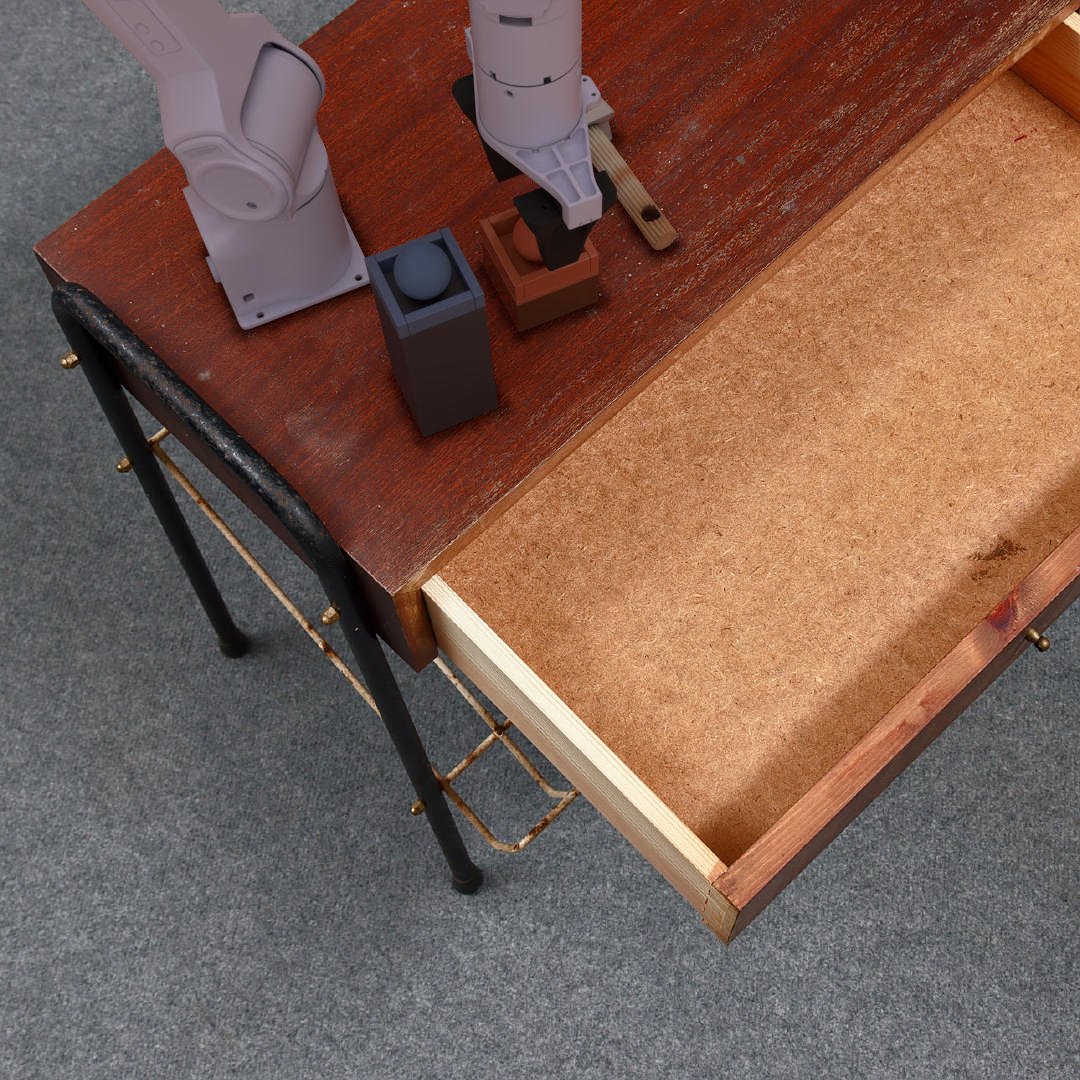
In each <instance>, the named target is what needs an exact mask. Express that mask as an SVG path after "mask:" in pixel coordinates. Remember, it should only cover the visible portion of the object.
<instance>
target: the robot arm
mask: <svg viewBox="0 0 1080 1080" xmlns="http://www.w3.org/2000/svg"><path fill="white" fill-rule="evenodd" d="M81 1H82V2H83V3H84V4H85V5H86V7H88V9H89V10H90V11H91V12H92V13H93V14H94V15H95V17H97V18H98V20H99V21H100V22H101V23H102V24H103V25H104V26H105V27H106V28H107V30H109V32H110V33H111V34H112V35H113V36H114V37H115V38H116V39H117V40H118V41H119V42H120V44H121V45H122V46H123V47H124V49H126V50H127V51H128V53H129V54H130V55H131V56H132V57H133V58H134V59H135V60H136V62H138V63H139V65H141V67H142V68H143V69H144V70H145V71H146V72H147V73H148V75H150V76H151V78H152V79H153V81H154V82H155V85H156V92H157V98H158V106H159V107H158V108H159V115H160V122H161V129H162V130H161V131H162V136H163V141H164V145H165V147H166V148H167V150H169V151H170V152H171V154H173V156H174V157H175V158H176V159H177V160H178V162H179V163H180V164H181V166H182V168H183V170H184V174H185V176H186V179H187V183H188V184H189V185H187V186H185V187H183V188H182V189H181V191H182V192H183V195H184V197H185V200H186V203H187V205H188V208H189V210H190V213H191V215H192V217H193V219H194V221H195V224H196V226H197V228H198V231H199V234H200V236H201V238H202V240H203V243H204V245H205V247H206V250H207V252H208V254H209V255H207V256H205V260H206V263H207V265H208V268H209V270H210V272H211V275H212V277H213V279H214V282H215V283H216V284H218V283H221V285H222V287H223V289H224V292H225V294H226V297H227V299H228V301H229V304H230V305H231V308H232V310H233V312H234V315H235V317H236V320H237V322H238V324H239V327H240V328H241V329H242V330H246V331H247V330H251V329H254V328H256V327H258V326H259V327H260V326H261V325H264V324H267V323H269V322H272V321H275V320H277V319H280V318H283V317H285V316H288V315H291V314H292V313H293V314H294V313H295V312H299V311H301V310H303V309H306V308H309V307H311V306H314V305H316V304H319V303H322V302H324V301H327V300H330V299H332V298H335V297H337V296H340V295H342V294H346V293H348V292H350V291H353V290H356V289H358V288H361V287H364V286H366V285H369V284H370V280H369V276H368V272H367V268H366V265H365V261H364V258H366V257H365V254H364V252H363V250H362V249H361V247H360V245H359V242H358V240H357V238H356V236H355V234H354V232H353V229H352V228H351V226H350V224H349V222H348V220H347V218H346V215H345V214H344V212H343V211H344V210H343V208H342V205H341V201H340V197H339V194H338V191H337V190H338V189H337V186H336V183H335V179H334V175H333V170H332V167H331V164H330V161H329V157H328V152H327V149H326V147H325V145H324V142H323V140H322V138H321V136H320V134H319V126H318V122H317V119H316V117H317V114H318V111H319V109H320V107H321V105H322V103H323V102H324V99H325V96H326V90H327V86H326V78H325V76H324V73H323V71H322V69H321V68H320V66H319V65H318V64H317V62H316V61H315V59H313V57H311V56H310V55H309V54H308V53H307V52H306V51H304V50H303V49H302V48H301V47H299V46H297V45H296V44H295V43H293V42H291V41H289V40H287V39H286V38H285V37H284V36H282V35H281V34H280V33H279V32H278V31H277V30H276V29H275V28H274V27H273V26H272V24H271V23H270V22H269V20H268V19H267V18H266V17H265V16H264V14H262V13H259V12H258V13H257V12H240V13H239V12H238V13H229V14H228V12H227V11H226V10H225V8H224V7H223V6H222V5H221V3H220V2H219V1H218V0H81ZM582 1H583V0H468V1H467V3H468V11H469V20H470V27H467V28H464V38H465V47H466V48H465V49H466V55H467V57H468V59H469V60H470V62H471V63H472V73H470V74H466V75H464V76H462V77H459V78H457V79H456V80H455V81H454V82H453V83H452V86H451V95H452V96H453V98H454V100H455V102H456V103H457V106H458V107H459V108H460V110H461V112H462V114H464V115H465V116H466V117H467V118H468V120H469V121H470V122H471V123H472V124H473V126H474V127H475V128H474V129H475V130H476V132H477V135H478V137H479V141H480V143H481V146H482V148H483V151H484V153H485V157H486V159H487V162H488V164H489V166H490V168H491V172H493V175H494V177H495V179H497V181H498V182H499V183H502V182H506V181H507V180H510V179H513V178H515V177H519V176H522V175H524V174H525V175H526V176H527V177H528V178H529V179H531V180H532V181H534V182H535V184H537V185H539V186H540V187H539V188H536V189H533V190H531V191H528V192H526V193H525V192H524V193H523V194H520V195H517V196H515V197H513V198H512V200H513V205H514V206H515V207H516V208H517V210H518V212H519V213H520V215H521V217H522V219H523V221H524V222H525V224H526V225H527V227H528V228H529V229H530V230H531V232H532V233H533V234H534V235H535V237H536V241H537V245H538V249H539V253H540V256H541V258H542V260H543V262H544V263H545V265H546V267H547V269H548V270H549V271H553V270H556V269H559V268H561V267H564V266H566V265H569V264H572V263H574V262H577V261H578V259H579V257H580V255H581V252H582V250H583V247H584V245H585V242H586V240H587V237H589V235H590V233H591V231H592V230H593V229H594V226H595V225H596V224H597V222H598V221H599V220H601V218H603V216H604V215H605V214H606V213H607V212H608V211H609V210H610V209H612V208H613V207H614V206H615V205H616V203H617V199H618V198H617V189H616V187H615V185H614V183H613V181H612V180H611V178H610V177H609V175H608V173H607V172H606V170H603V171H600V172H598V171H597V172H595V173H594V169H593V163H592V159H591V151H590V142H589V133H588V125H587V116H586V114H587V112H588V111H590V110H592V109H595V108H597V107H598V106H599V105H600V103H601V98H602V97H601V92H600V89H599V88H598V87H597V85H596V83H595V82H594V81H593V79H592V78H591V77H590V76H589V75H585V74H583V71H582V70H583V69H582V67H583V66H582V65H583V64H582V63H583V62H582V61H583V60H582V59H583V55H582V54H583V51H582V49H583V48H582V47H583V27H582V26H583V2H582ZM358 279H360V280H358ZM260 316H261V317H260ZM262 316H263V317H262Z"/></svg>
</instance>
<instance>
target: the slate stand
mask: <svg viewBox="0 0 1080 1080" xmlns="http://www.w3.org/2000/svg"><path fill="white" fill-rule="evenodd" d="M415 242H429V243H432V244H435V245H436V246H438V247H439V248H441V249H442V250H443V251H444V252H445V254H446V255H447V257H448V259H449V261H450V265H451V279H450V282H449V284H448V286H447V288H446V289H445V290H444V292H443V293H442V294H440V295H439V296H437V297H435V298H433V299H430V300H416V299H413V298H411V297H409V296H407V295H406V294H404V293H403V292H402V291H401V289H400V288H399V287H398V285H397V283H396V281H395V277H394V264H395V260H396V258H397V256H398V254H399V253H400V252H401V250H402V249H404V248H405V247H406V246H408V245H409V244H412V243H415ZM364 261H365V265H366V268H367V272H368V276H369V280H370V283H369V284H370V288H371V292H372V295H373V299H374V303H375V307H376V311H377V314H378V318H379V322H380V326H381V330H382V334H383V338H384V342H385V346H386V350H387V353H388V357H389V361H390V365H391V369H392V373H393V376H394V379H395V381H396V383H397V385H398V388H399V389H400V391H401V394H402V396H403V398H404V401H405V402H406V404H407V406H408V408H409V410H410V412H411V414H412V417H413V418H414V421H415V423H416V424H417V427H418V429H419V431H420V433H421V435H422V437H423V439H425V438H427V437H430V436H432V435H435V434H437V433H440V432H442V431H445V430H447V429H450V428H452V427H455V426H457V425H460V424H462V423H465V422H467V421H470V420H471V419H474V418H477V417H479V416H482V415H484V414H487V413H489V412H491V411H495V410H496V409H499V402H498V393H497V387H496V377H495V372H494V371H495V370H494V369H495V368H494V363H493V362H494V361H493V354H492V346H491V339H490V329H489V323H488V322H489V321H488V314H487V306H486V299H485V292H484V291H483V288H482V287H481V285H480V282H479V281H478V279H477V277H476V275H475V274H474V272H473V269H472V268H471V266H470V264H469V262H468V260H467V259H466V257H465V255H464V253H463V250H462V249H461V247H460V245H459V243H458V241H457V240H456V238H455V235H454V233H453V232H452V230H451V228H450V226H446V227H443V228H441V229H440V230H438V229H437V230H436V231H432V232H430V233H428V234H425V235H422V236H420V237H417V238H415V239H411V240H409V241H407V242H403V243H401V244H398V245H396V246H393V247H390V248H388V249H385V250H382V251H380V252H377V253H374V254H372V255H369V256H366V257H365V258H364Z"/></svg>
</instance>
